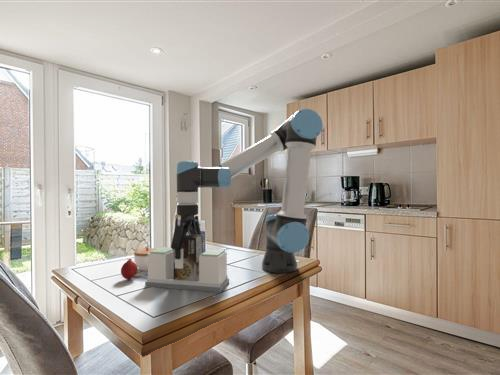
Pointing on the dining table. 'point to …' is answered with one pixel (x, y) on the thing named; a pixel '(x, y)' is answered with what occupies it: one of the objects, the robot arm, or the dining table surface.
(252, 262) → the dining table surface
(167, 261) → the white slotted block
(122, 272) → the onion
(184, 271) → the coffee box
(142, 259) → the lidded jar
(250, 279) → the dining table surface
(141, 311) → the dining table surface
